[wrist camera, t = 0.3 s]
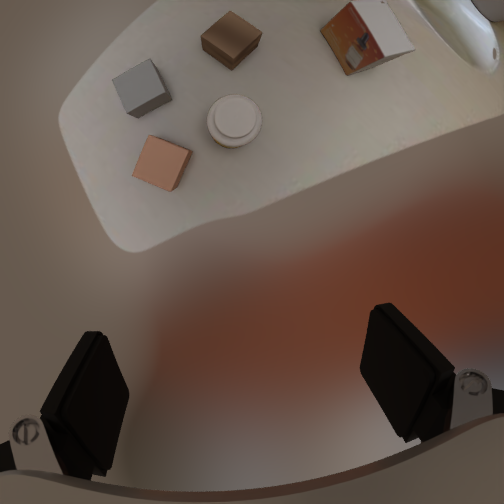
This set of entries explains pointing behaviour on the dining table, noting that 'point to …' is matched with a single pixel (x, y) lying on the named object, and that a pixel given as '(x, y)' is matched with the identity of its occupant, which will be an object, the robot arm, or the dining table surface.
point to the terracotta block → (161, 163)
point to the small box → (366, 35)
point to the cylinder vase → (491, 9)
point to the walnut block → (230, 40)
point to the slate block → (141, 89)
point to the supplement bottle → (234, 121)
